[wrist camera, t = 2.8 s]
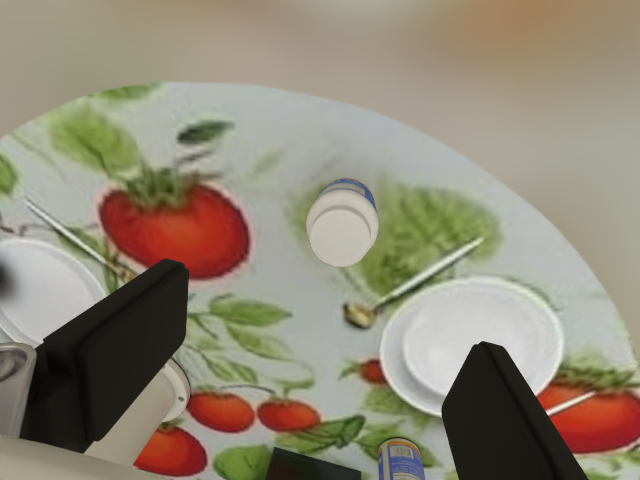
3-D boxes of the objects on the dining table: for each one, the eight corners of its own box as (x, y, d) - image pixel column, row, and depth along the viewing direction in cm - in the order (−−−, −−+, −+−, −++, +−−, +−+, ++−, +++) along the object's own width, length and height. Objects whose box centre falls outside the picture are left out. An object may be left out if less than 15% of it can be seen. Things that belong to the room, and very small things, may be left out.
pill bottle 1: (369, 236, 29) (373, 284, 20) (315, 228, 30) (295, 272, 21) (379, 180, 27) (388, 206, 18) (321, 173, 28) (302, 194, 19)
